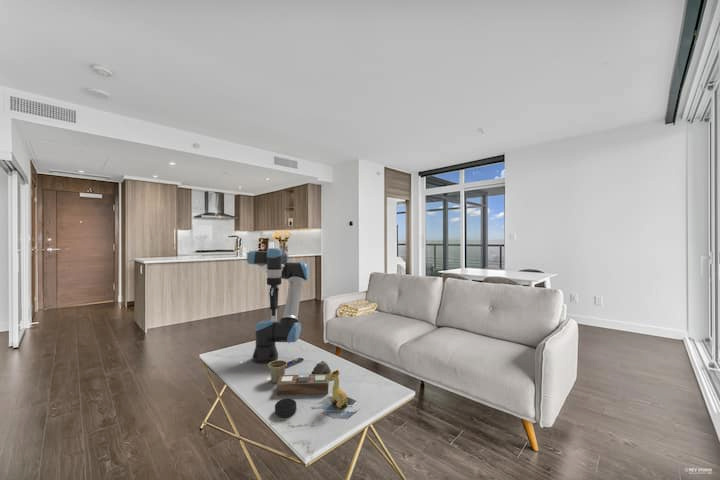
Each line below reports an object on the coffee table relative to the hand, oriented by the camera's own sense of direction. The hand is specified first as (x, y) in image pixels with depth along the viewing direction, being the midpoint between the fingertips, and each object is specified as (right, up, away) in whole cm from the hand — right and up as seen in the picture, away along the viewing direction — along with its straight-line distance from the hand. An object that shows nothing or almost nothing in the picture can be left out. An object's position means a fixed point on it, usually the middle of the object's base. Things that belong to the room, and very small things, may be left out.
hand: (274, 321), depth 165 cm
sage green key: (+26, -27, -14) cm, 40 cm away
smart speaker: (+14, -30, -34) cm, 48 cm away
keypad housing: (+18, -30, -14) cm, 38 cm away
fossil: (+25, -30, -1) cm, 39 cm away
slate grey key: (+18, -25, -14) cm, 34 cm away
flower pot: (+3, -30, -5) cm, 30 cm away
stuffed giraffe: (+36, -30, -29) cm, 56 cm away
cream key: (+11, -27, -15) cm, 32 cm away
